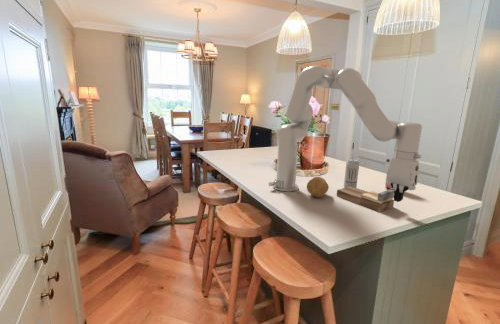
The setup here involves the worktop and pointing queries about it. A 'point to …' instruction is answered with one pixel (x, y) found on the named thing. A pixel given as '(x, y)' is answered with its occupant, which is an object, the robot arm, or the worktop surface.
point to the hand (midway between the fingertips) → (397, 200)
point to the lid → (379, 196)
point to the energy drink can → (351, 173)
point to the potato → (317, 186)
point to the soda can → (388, 186)
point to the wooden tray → (363, 199)
